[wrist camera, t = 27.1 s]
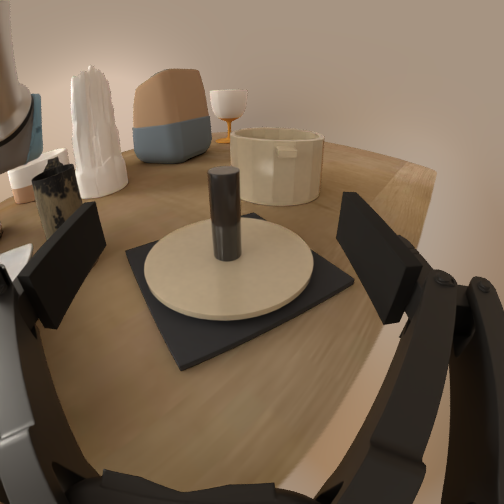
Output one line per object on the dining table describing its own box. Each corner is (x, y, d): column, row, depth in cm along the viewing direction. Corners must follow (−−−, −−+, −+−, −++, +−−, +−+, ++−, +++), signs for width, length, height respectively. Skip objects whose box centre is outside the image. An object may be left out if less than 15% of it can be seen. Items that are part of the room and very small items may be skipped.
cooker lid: (127, 325, 20) (90, 218, 15) (165, 228, 33) (155, 155, 28) (331, 320, 20) (355, 208, 16) (295, 224, 34) (300, 149, 29)
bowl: (6, 210, 45) (-3, 177, 40) (26, 188, 58) (20, 161, 54) (65, 191, 51) (58, 155, 46) (77, 172, 64) (72, 144, 60)
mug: (102, 267, 27) (74, 159, 21) (58, 283, 25) (22, 177, 18) (94, 237, 33) (74, 149, 26) (57, 251, 30) (33, 163, 24)
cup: (254, 139, 87) (254, 89, 78) (235, 145, 79) (235, 89, 69) (224, 137, 92) (223, 90, 83) (204, 143, 83) (201, 91, 74)
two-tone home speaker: (168, 149, 77) (163, 75, 65) (217, 150, 72) (214, 67, 59) (129, 165, 64) (121, 77, 52) (181, 167, 59) (175, 65, 46)
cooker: (230, 215, 37) (228, 145, 32) (232, 172, 54) (231, 125, 49) (336, 213, 38) (343, 147, 33) (305, 172, 55) (307, 126, 50)
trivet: (126, 255, 29) (125, 250, 29) (253, 216, 37) (253, 212, 37) (180, 371, 17) (179, 366, 17) (353, 284, 25) (354, 279, 25)
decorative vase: (87, 185, 53) (73, 76, 39) (131, 176, 55) (120, 64, 42) (72, 203, 44) (54, 74, 31) (123, 192, 47) (110, 58, 33)
